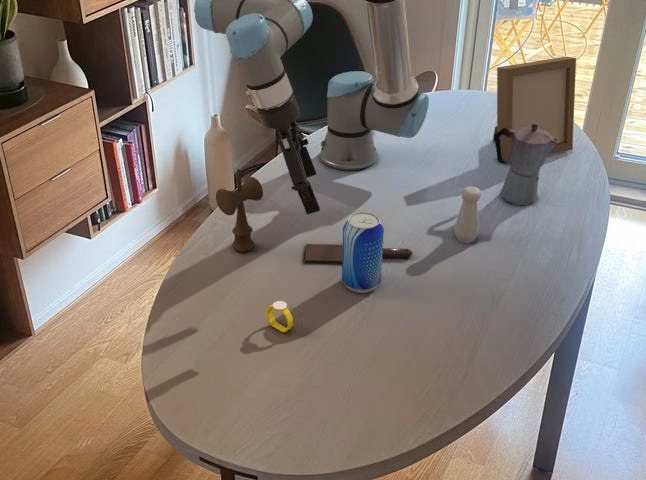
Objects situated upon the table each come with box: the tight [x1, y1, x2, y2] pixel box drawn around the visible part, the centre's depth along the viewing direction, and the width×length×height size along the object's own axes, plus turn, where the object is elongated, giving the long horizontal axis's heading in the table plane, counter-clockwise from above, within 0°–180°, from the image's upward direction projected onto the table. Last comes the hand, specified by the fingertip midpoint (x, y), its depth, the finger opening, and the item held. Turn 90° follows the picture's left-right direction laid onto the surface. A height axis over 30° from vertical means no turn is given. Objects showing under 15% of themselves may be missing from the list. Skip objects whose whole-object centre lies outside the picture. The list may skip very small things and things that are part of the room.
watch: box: [266, 300, 294, 333], centre depth 162 cm, size 6×3×6 cm, turn 51°
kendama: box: [215, 168, 264, 253], centre depth 182 cm, size 6×10×20 cm, turn 138°
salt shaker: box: [453, 186, 482, 244], centre depth 188 cm, size 6×6×13 cm
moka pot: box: [493, 124, 559, 206], centre depth 202 cm, size 10×15×20 cm, turn 78°
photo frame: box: [492, 56, 577, 164], centre depth 223 cm, size 15×22×25 cm
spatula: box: [304, 243, 413, 264], centre depth 185 cm, size 24×7×2 cm, turn 89°
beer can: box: [341, 211, 385, 294], centre depth 172 cm, size 8×8×16 cm
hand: (312, 193), depth 164 cm, fingers open, 13 cm apart
